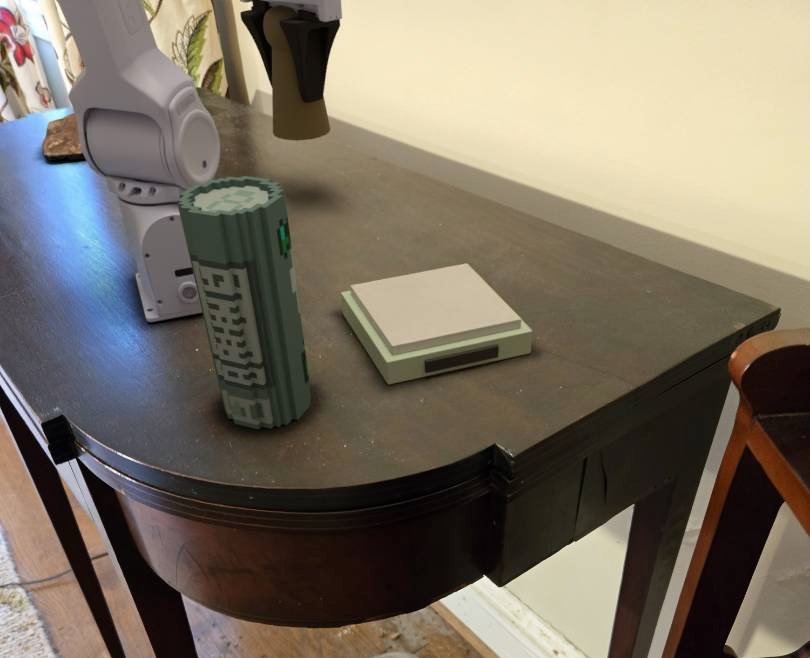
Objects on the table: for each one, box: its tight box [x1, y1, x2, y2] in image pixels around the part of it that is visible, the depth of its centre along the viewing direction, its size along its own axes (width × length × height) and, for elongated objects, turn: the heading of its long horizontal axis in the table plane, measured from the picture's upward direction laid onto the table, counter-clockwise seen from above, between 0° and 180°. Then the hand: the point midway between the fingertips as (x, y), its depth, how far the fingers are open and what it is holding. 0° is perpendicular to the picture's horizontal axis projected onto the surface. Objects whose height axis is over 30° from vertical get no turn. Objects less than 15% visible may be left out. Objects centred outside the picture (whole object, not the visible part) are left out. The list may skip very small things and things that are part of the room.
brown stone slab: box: [41, 112, 86, 161], centre depth 99 cm, size 12×13×4 cm
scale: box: [340, 262, 534, 386], centre depth 63 cm, size 12×12×3 cm
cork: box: [263, 5, 331, 141], centre depth 77 cm, size 6×6×11 cm
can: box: [177, 175, 312, 430], centre depth 52 cm, size 6×6×15 cm
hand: (297, 95), depth 79 cm, fingers closed on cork, 5 cm apart
